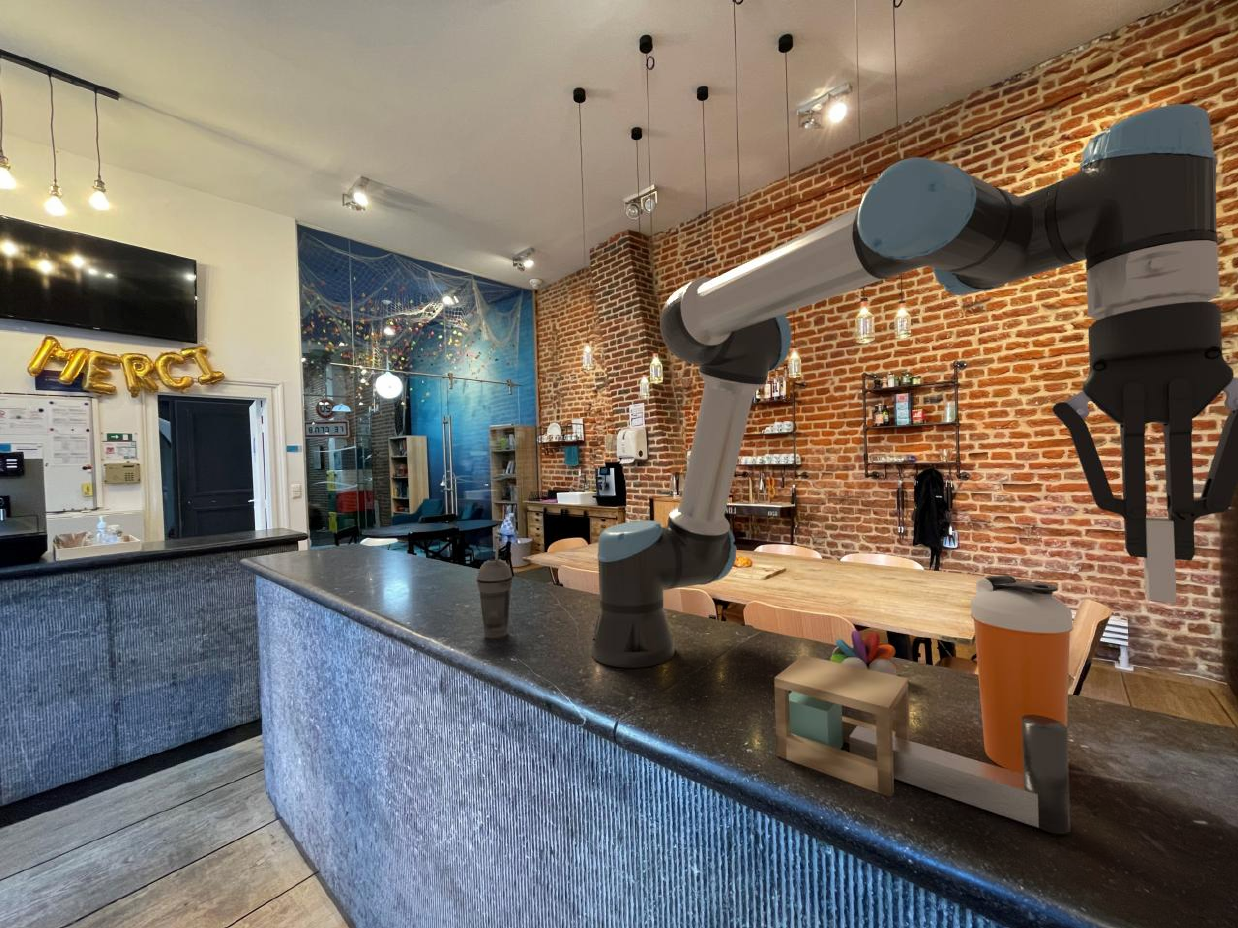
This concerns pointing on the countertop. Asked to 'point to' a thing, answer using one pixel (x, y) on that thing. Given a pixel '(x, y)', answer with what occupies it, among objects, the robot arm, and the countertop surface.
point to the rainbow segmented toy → (866, 654)
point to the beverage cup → (495, 595)
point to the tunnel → (844, 719)
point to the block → (816, 719)
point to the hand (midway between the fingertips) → (1160, 598)
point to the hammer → (990, 774)
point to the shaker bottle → (1019, 660)
